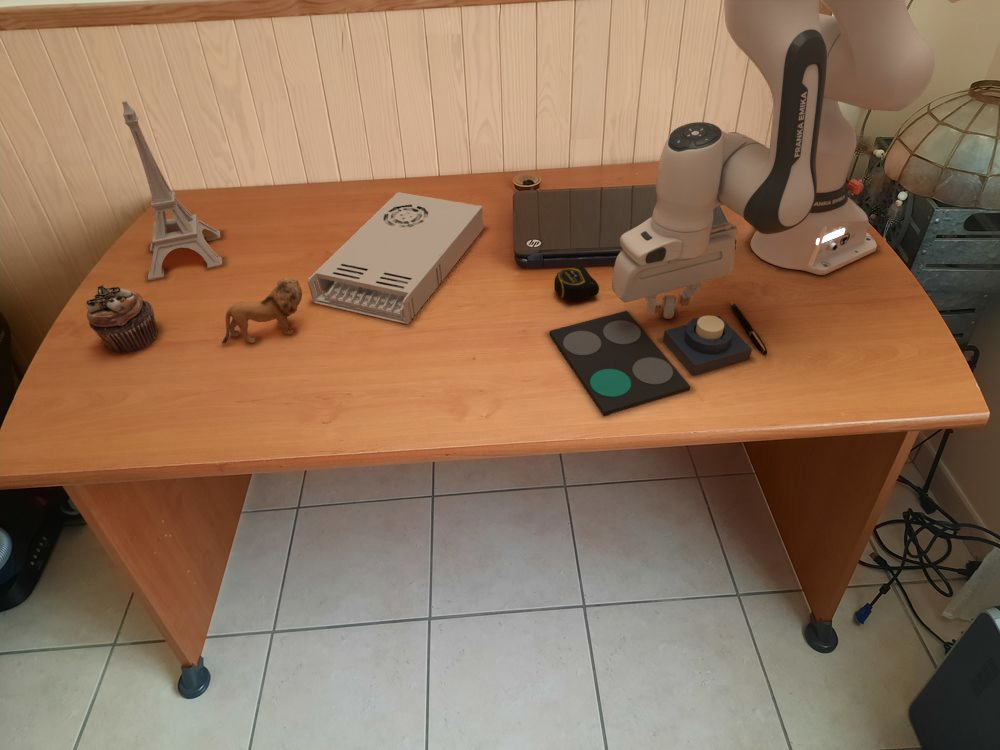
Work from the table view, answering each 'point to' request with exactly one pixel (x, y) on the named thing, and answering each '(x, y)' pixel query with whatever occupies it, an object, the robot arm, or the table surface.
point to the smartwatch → (668, 306)
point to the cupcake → (122, 319)
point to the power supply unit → (397, 257)
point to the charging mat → (618, 362)
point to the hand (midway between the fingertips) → (668, 307)
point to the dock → (706, 348)
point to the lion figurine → (265, 309)
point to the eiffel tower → (184, 224)
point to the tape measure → (575, 284)
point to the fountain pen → (749, 329)
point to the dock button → (709, 327)
